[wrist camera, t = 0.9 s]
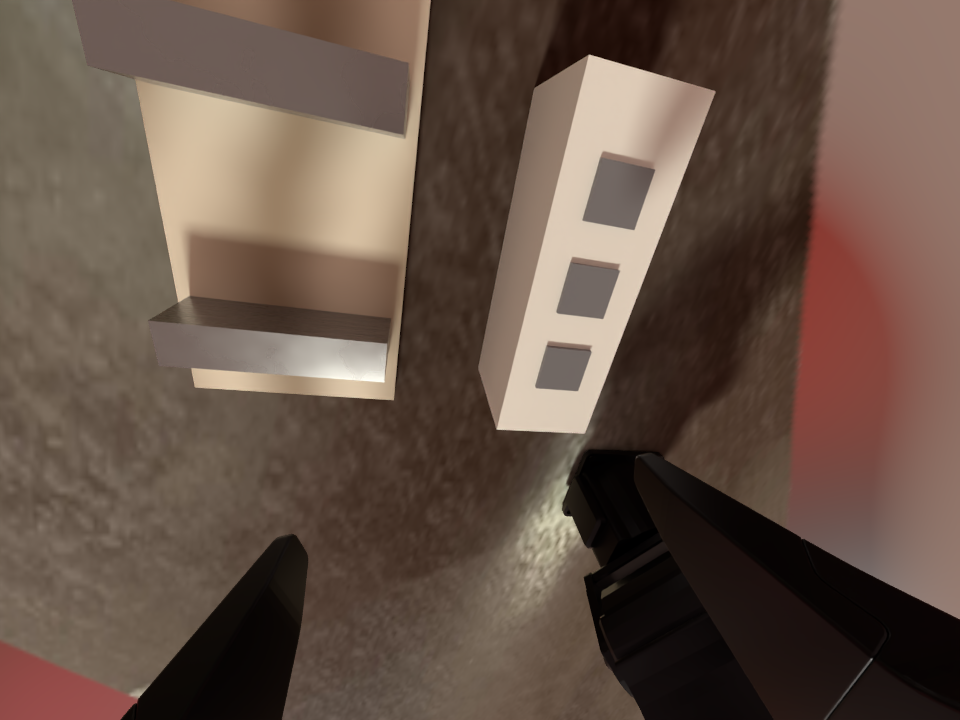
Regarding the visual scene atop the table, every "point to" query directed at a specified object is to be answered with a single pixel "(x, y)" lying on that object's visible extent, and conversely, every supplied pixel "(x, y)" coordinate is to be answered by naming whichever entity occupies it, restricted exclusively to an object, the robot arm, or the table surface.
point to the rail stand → (277, 180)
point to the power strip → (582, 235)
